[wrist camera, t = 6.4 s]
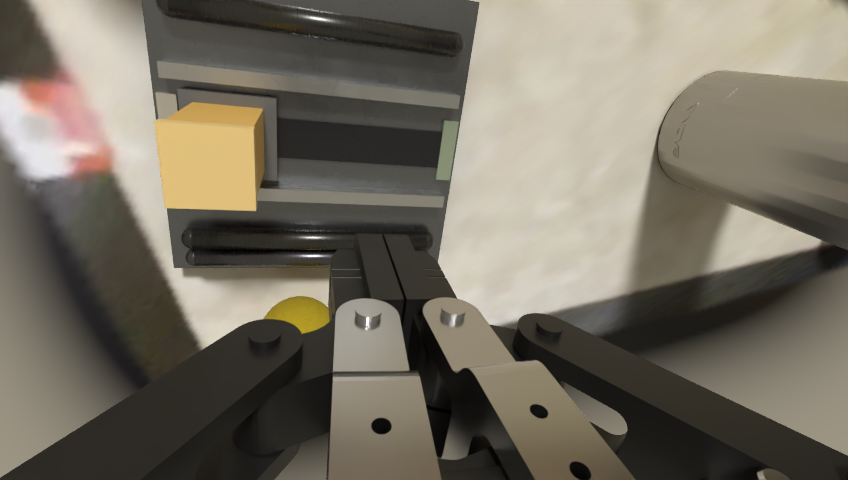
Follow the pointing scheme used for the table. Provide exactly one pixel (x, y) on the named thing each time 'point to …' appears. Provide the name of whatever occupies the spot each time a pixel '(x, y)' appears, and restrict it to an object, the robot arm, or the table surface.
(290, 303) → the lemon
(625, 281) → the table surface
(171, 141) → the lever
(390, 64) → the panel
